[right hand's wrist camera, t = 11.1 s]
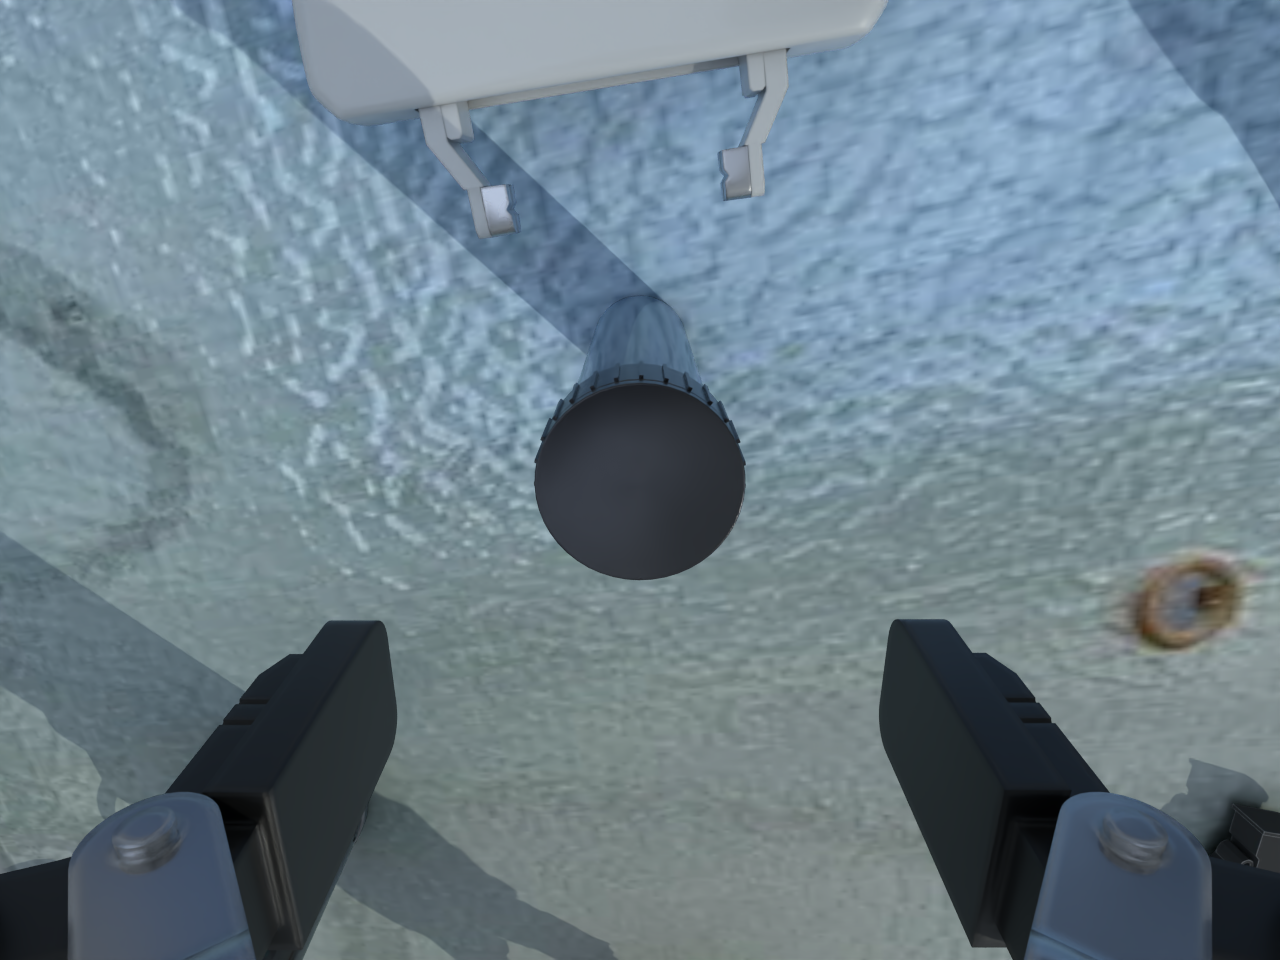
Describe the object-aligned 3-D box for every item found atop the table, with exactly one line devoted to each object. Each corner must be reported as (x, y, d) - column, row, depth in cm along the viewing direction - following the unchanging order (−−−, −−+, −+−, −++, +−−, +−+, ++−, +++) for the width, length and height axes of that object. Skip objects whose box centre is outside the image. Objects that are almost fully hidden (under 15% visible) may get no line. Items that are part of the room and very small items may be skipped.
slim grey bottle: (703, 326, 37) (763, 450, 19) (655, 403, 39) (669, 588, 20) (623, 277, 36) (606, 359, 18) (577, 358, 38) (519, 508, 20)
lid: (776, 423, 21) (791, 450, 19) (672, 575, 22) (675, 616, 20) (604, 321, 20) (599, 337, 18) (508, 488, 21) (493, 521, 19)
